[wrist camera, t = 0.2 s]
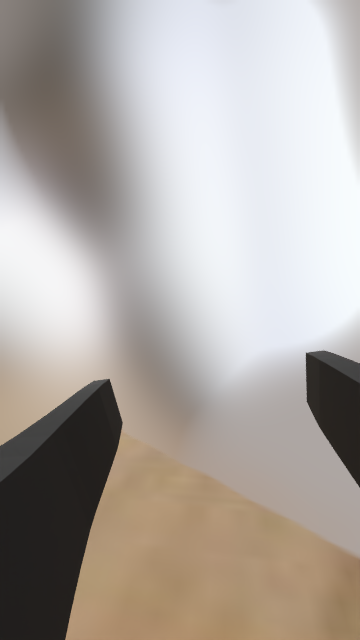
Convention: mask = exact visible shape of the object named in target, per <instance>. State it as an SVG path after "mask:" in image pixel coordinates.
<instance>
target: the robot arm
mask: <svg viewBox="0 0 360 640" xmlns="http://www.w3.org/2000/svg"><path fill="white" fill-rule="evenodd" d="M306 376H307V377H306V382H307V403H308V405H309V407H310V409H311V411H312V413H313V415H314V417H315V419H316V421H317V423H318V425H319V427H320V429H321V430H322V432H323V433H324V435H325V436H326V438H327V439H328V441H329V442H330V444H331V445H332V447H333V449H334V450H335V452H336V453H337V454H338V456H339V457H340V459H341V460H342V462H343V463H344V465H345V466H346V468H347V469H348V471H349V472H350V474H351V475H352V477H353V478H354V479H355V481H356V483H357V484H358V485H359V487H360V363H357V362H354V361H352V360H349V359H347V358H344V357H342V356H339V355H336V354H334V353H331V352H327V351H317V352H309V353H306ZM121 429H122V419H121V416H120V413H119V409H118V406H117V402H116V399H115V396H114V392H113V389H112V386H111V382H110V379H106V380H98V381H93V382H92V383H90V384H88V385H87V386H85V387H84V388H82V389H81V390H80V391H78V392H77V393H75V394H74V395H73V396H72V397H70V398H69V399H68V400H66V401H65V402H63V403H62V404H61V405H59V406H58V407H57V408H55V409H54V410H53V411H51V412H50V413H48V414H47V415H46V416H44V417H43V418H41V419H40V420H38V421H37V422H36V423H34V424H33V425H31V426H30V427H28V428H27V429H26V430H24V431H23V432H21V433H20V434H18V435H17V436H15V437H14V438H13V439H11V440H9V441H8V442H6V443H5V444H3V445H1V446H0V640H65V638H66V633H67V628H68V623H69V618H70V613H71V609H72V604H73V600H74V595H75V591H76V587H77V582H78V578H79V573H80V569H81V565H82V561H83V557H84V553H85V549H86V545H87V541H88V537H89V533H90V529H91V526H92V522H93V519H94V516H95V513H96V510H97V507H98V504H99V501H100V498H101V495H102V493H103V490H104V487H105V484H106V481H107V478H108V475H109V472H110V470H111V467H112V464H113V461H114V458H115V455H116V452H117V448H118V444H119V439H120V434H121Z"/></svg>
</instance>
